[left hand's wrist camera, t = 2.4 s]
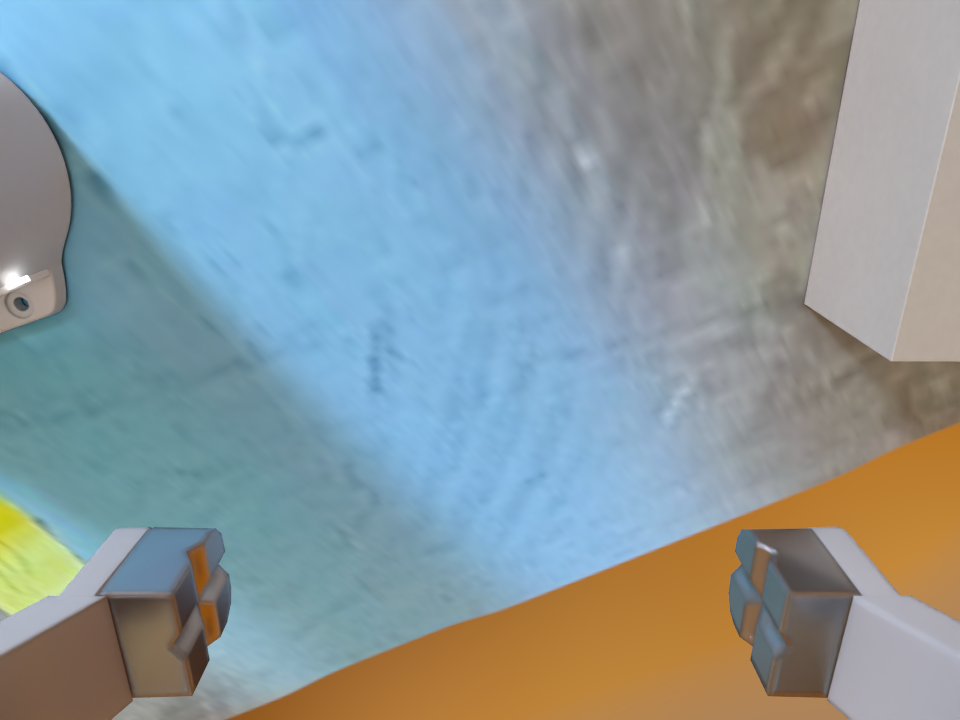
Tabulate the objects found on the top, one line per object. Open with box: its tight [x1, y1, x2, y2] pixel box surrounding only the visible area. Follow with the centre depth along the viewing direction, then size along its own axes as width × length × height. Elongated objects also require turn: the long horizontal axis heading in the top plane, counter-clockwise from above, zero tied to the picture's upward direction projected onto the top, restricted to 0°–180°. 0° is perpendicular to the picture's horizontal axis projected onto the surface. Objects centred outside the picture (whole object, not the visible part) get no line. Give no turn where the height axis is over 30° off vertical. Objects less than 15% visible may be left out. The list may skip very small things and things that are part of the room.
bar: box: [804, 0, 960, 362], centre depth 33 cm, size 27×4×10 cm, turn 0°
